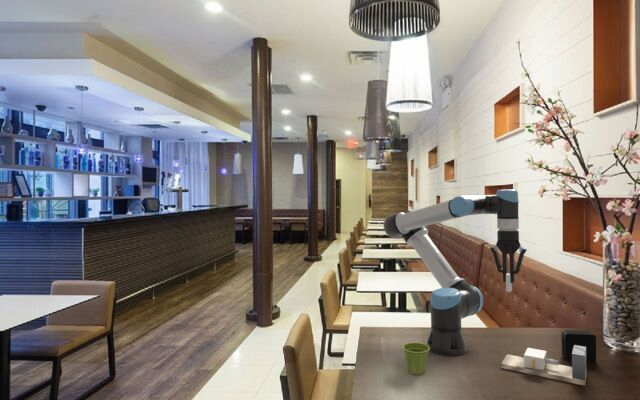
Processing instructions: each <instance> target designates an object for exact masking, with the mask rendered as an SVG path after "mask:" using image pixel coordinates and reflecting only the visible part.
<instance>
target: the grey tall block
mask: <svg viewBox="0 0 640 400" xmlns="http://www.w3.org/2000/svg"><path fill="white" fill-rule="evenodd" d="M571 367H572V378H575V379H580V380H585V378H586V379H587V375H586V370H587V362H586V347H584V346H578V345H574V347H573V351H572V361H571Z"/></svg>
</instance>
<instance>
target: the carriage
mask: <svg viewBox="0 0 640 400" xmlns="http://www.w3.org/2000/svg"><path fill="white" fill-rule="evenodd" d="M547 354H548V352H547V350H542V349H538V348H531V347H527V348H526V349H525V352H524V354H523V357H524V366H525V367H529V368H534V369H539V370H544V368H545V366H546V363H548V364H553V365H558V366H559V365H560V363H559V362H560V361H559V360H557V359H553V358H548V356H547Z"/></svg>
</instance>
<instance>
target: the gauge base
mask: <svg viewBox="0 0 640 400" xmlns="http://www.w3.org/2000/svg"><path fill="white" fill-rule="evenodd" d="M500 365H501V366H500V367H501V369H505V370H510V371H513V372H518V373H524V374H528V375H533V376H538V377H544V378H547V379H552V380H556V381H561V382H565V383H569V384H570V383H571V384H574V385H580V386H584V387H585V386H586V382H587V381H586V380H587V377H586V378H585V380H580V379H575V378H572V366H569V365H563V364H559V366H558V365H553V364H548V363H546V366H545V368H544V370H539V369H534V368H529V367H525V366H524V356H522V357H521V356H518V355H512V354H506V355H505V357H504V359H503V360H502V361H501V363H500ZM586 376H587V370H586Z"/></svg>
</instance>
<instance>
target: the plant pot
mask: <svg viewBox="0 0 640 400" xmlns="http://www.w3.org/2000/svg"><path fill="white" fill-rule="evenodd" d="M402 349H403V352H404V354H405V355H404V356H405V362H406V368H407V372H408V373H410V374H411V375H416V376H421V375H424V374H425V373H426V371H427V364H428V363H427V362H428V355H429V350H430V347H429V346H428V345H427V343H426V344H425V343H421V342H408V343H404V344H403V345H402Z"/></svg>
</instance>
